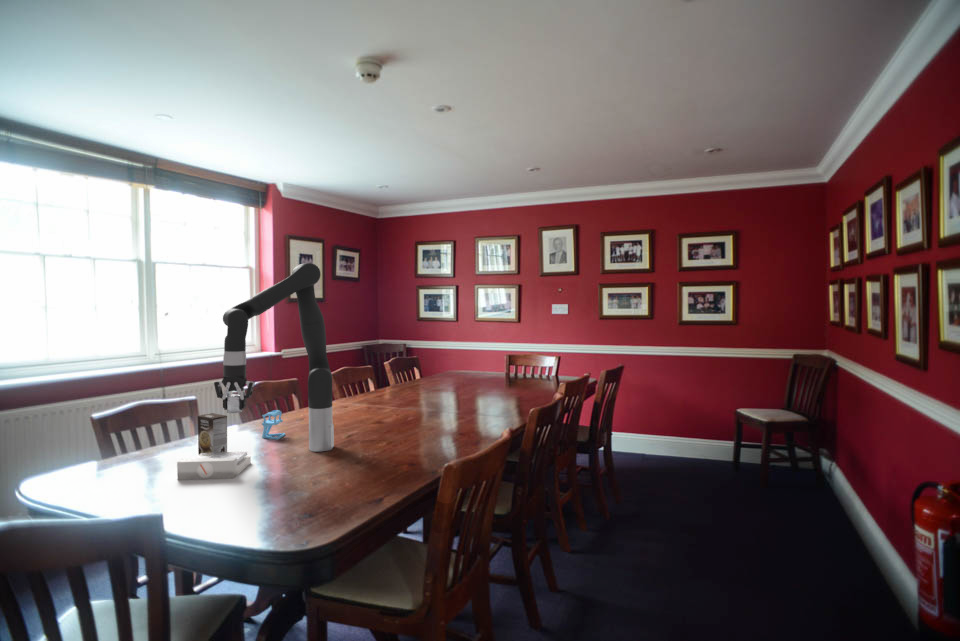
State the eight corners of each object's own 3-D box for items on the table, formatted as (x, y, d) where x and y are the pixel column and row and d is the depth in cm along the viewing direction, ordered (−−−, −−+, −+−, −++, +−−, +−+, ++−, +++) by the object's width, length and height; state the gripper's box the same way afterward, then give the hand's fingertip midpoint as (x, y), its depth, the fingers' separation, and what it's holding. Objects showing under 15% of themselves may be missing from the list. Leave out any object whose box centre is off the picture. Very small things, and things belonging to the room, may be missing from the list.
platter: (247, 454, 184) (247, 451, 184) (235, 464, 173) (235, 461, 173) (201, 456, 182) (201, 452, 182) (187, 466, 171) (186, 462, 171)
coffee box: (197, 457, 191) (196, 415, 190) (213, 453, 197) (212, 412, 196) (212, 461, 187) (211, 418, 186) (228, 456, 192) (227, 414, 192)
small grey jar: (244, 410, 186) (244, 394, 186) (238, 413, 181) (238, 396, 181) (230, 410, 185) (230, 394, 185) (224, 413, 180) (224, 396, 180)
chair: (267, 434, 224) (266, 408, 223) (285, 435, 224) (285, 408, 223) (259, 439, 216) (258, 412, 216) (278, 439, 216) (277, 412, 215)
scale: (250, 462, 184) (250, 446, 184) (233, 478, 168) (232, 461, 168) (199, 464, 183) (199, 448, 182) (176, 480, 166) (176, 462, 166)
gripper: (258, 362, 187) (258, 407, 187) (219, 361, 186) (218, 407, 186) (251, 364, 179) (250, 411, 180) (209, 364, 178) (209, 411, 179)
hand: (234, 409), depth 183 cm, fingers closed on small grey jar, 5 cm apart
